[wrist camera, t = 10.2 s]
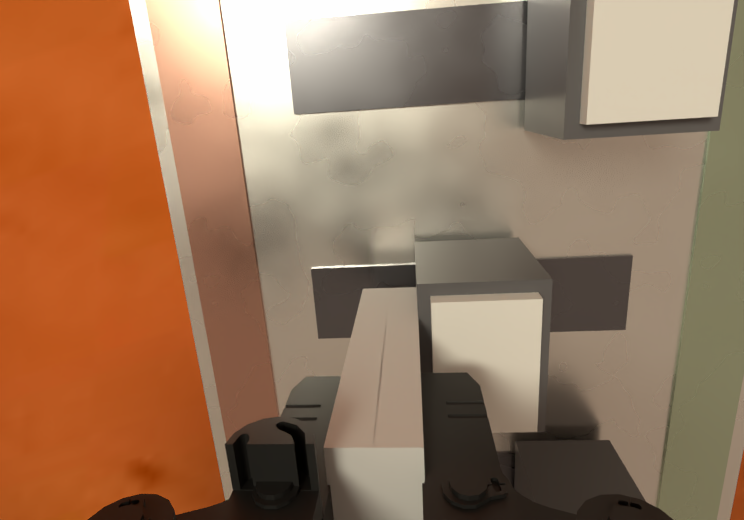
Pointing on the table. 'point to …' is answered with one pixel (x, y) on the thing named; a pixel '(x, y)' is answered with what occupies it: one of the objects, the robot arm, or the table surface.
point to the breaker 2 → (626, 66)
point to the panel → (446, 218)
